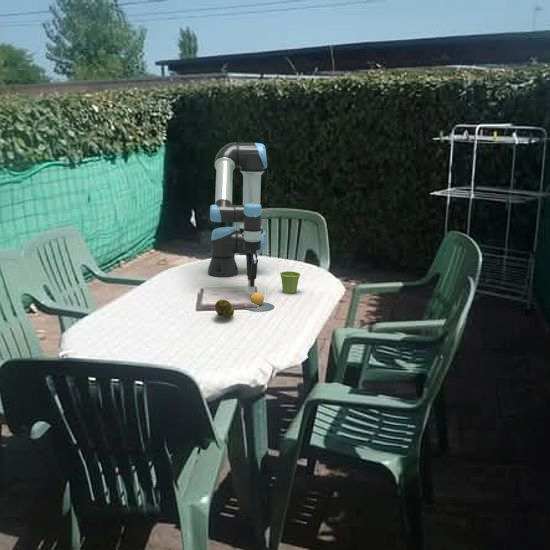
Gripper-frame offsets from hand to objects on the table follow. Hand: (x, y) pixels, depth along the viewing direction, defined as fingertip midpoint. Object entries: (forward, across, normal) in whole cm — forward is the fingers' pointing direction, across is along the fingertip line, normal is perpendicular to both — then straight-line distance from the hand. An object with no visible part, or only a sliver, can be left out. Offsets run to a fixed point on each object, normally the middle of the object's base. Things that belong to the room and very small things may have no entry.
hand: (251, 293), depth 256 cm
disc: (+2, +14, 0) cm, 14 cm away
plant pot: (+2, -5, +19) cm, 20 cm away
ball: (-1, +12, 0) cm, 12 cm away
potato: (+2, +25, -16) cm, 30 cm away
